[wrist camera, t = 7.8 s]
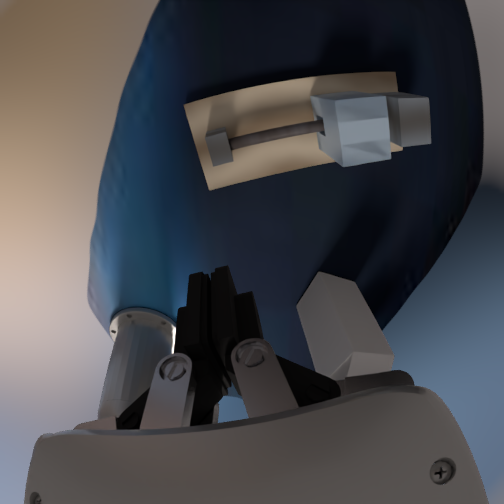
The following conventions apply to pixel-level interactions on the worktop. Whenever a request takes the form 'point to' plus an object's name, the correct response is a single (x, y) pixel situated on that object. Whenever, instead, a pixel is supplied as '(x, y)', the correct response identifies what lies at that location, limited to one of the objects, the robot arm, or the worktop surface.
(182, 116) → the worktop surface
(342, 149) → the sleeve
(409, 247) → the worktop surface
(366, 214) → the worktop surface
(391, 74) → the slider mechanism
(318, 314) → the milk carton
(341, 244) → the worktop surface
